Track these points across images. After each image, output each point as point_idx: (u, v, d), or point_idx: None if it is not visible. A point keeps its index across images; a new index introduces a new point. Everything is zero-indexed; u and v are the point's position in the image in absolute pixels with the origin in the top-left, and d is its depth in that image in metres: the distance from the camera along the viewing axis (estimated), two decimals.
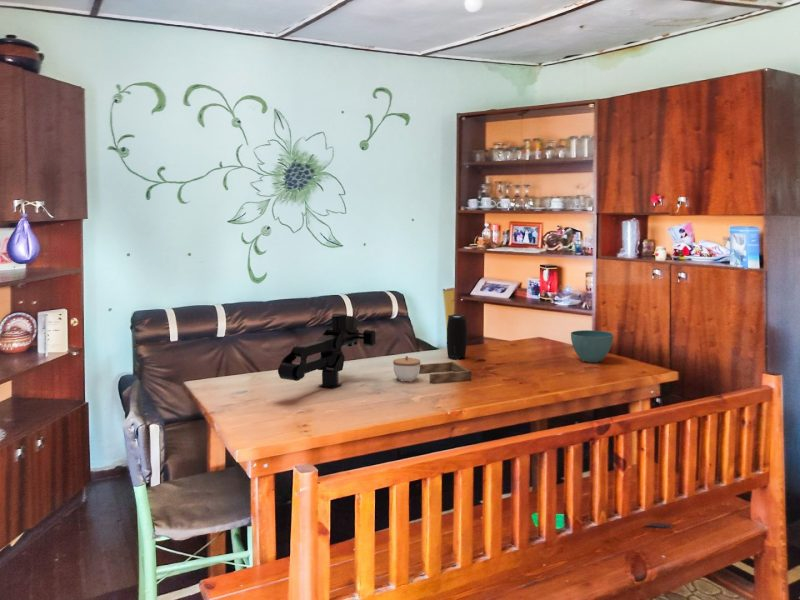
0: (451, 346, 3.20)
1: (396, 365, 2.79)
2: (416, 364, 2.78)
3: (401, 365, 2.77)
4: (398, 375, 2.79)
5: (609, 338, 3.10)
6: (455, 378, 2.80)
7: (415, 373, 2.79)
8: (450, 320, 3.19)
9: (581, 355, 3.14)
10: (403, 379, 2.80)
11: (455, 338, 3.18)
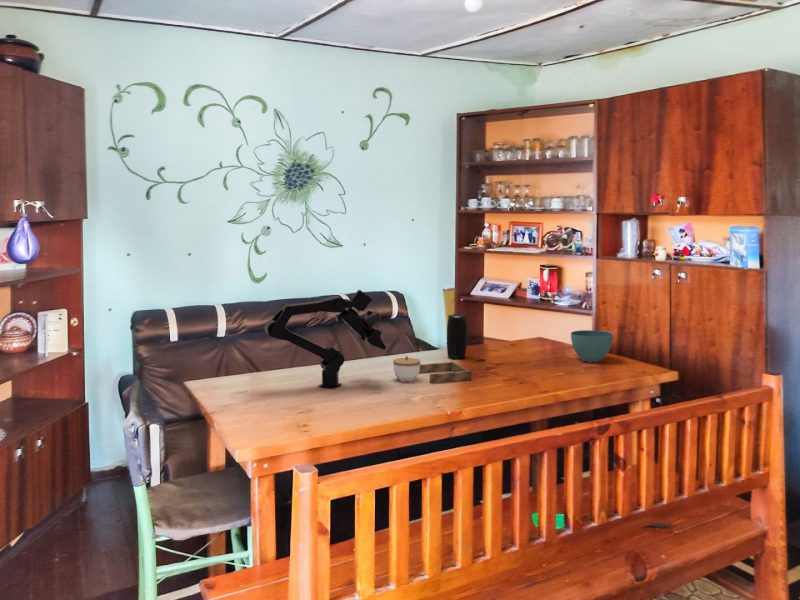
0: (451, 346, 3.20)
1: (396, 365, 2.79)
2: (416, 364, 2.78)
3: (401, 365, 2.77)
4: (398, 375, 2.79)
5: (609, 338, 3.10)
6: (455, 378, 2.80)
7: (415, 373, 2.79)
8: (450, 320, 3.19)
9: (581, 355, 3.14)
10: (403, 379, 2.80)
11: (455, 338, 3.18)
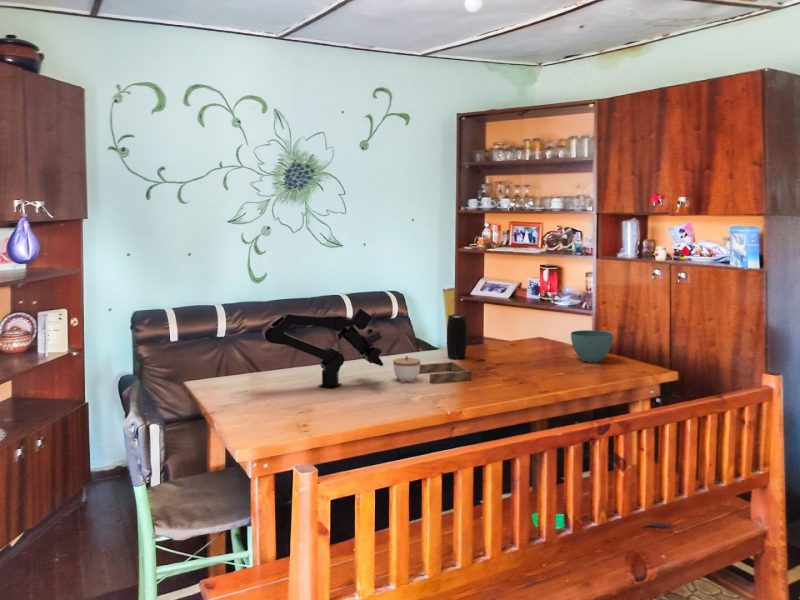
0: (451, 346, 3.20)
1: (396, 365, 2.79)
2: (416, 364, 2.78)
3: (401, 365, 2.77)
4: (398, 375, 2.79)
5: (609, 338, 3.10)
6: (455, 378, 2.80)
7: (415, 373, 2.79)
8: (450, 320, 3.19)
9: (581, 355, 3.14)
10: (403, 379, 2.80)
11: (455, 338, 3.18)
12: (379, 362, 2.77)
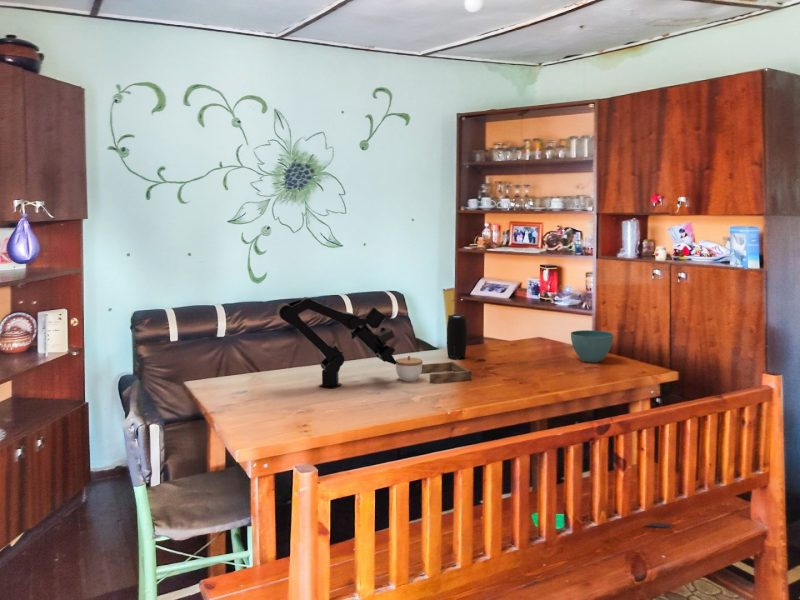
0: (451, 346, 3.20)
1: (398, 365, 2.79)
2: (418, 364, 2.79)
3: (403, 365, 2.78)
4: (400, 375, 2.80)
5: (609, 338, 3.10)
6: (455, 378, 2.80)
7: (417, 373, 2.79)
8: (450, 320, 3.19)
9: (581, 355, 3.14)
10: (405, 379, 2.80)
11: (455, 338, 3.18)
12: (392, 360, 2.79)
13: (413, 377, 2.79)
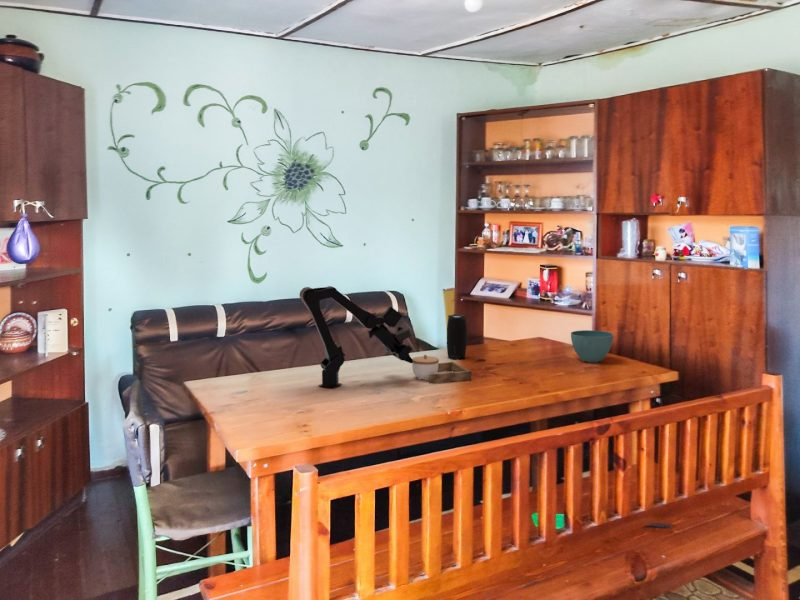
0: (451, 346, 3.20)
1: (415, 363, 2.82)
2: (434, 362, 2.81)
3: (420, 364, 2.80)
4: (417, 373, 2.82)
5: (609, 338, 3.10)
6: (455, 378, 2.80)
7: (433, 371, 2.81)
8: (450, 320, 3.19)
9: (581, 355, 3.14)
10: (421, 377, 2.82)
11: (455, 338, 3.18)
12: (409, 359, 2.81)
13: (429, 376, 2.81)
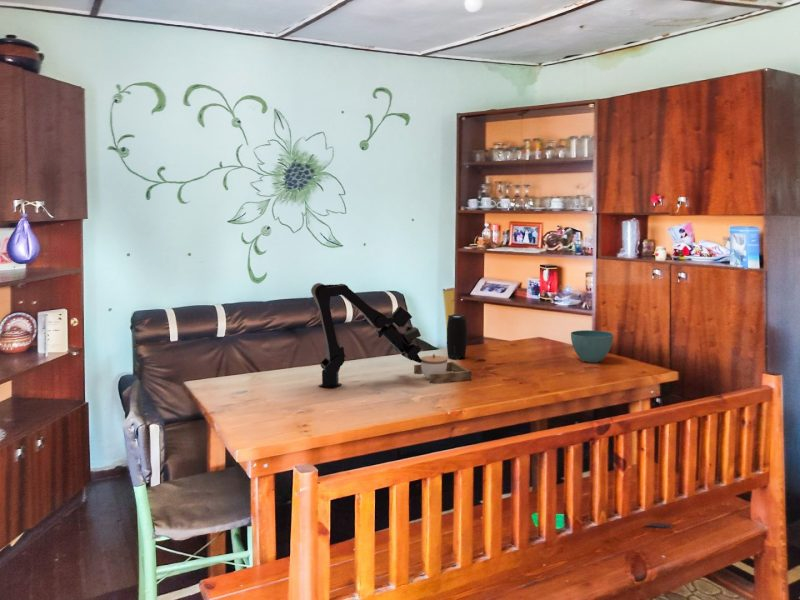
0: (451, 346, 3.20)
1: (423, 363, 2.83)
2: (443, 362, 2.82)
3: (428, 363, 2.81)
4: (425, 373, 2.83)
5: (609, 338, 3.10)
6: (455, 378, 2.80)
7: (442, 371, 2.83)
8: (450, 320, 3.19)
9: (581, 355, 3.14)
10: None
11: (455, 338, 3.18)
12: (418, 359, 2.83)
13: None
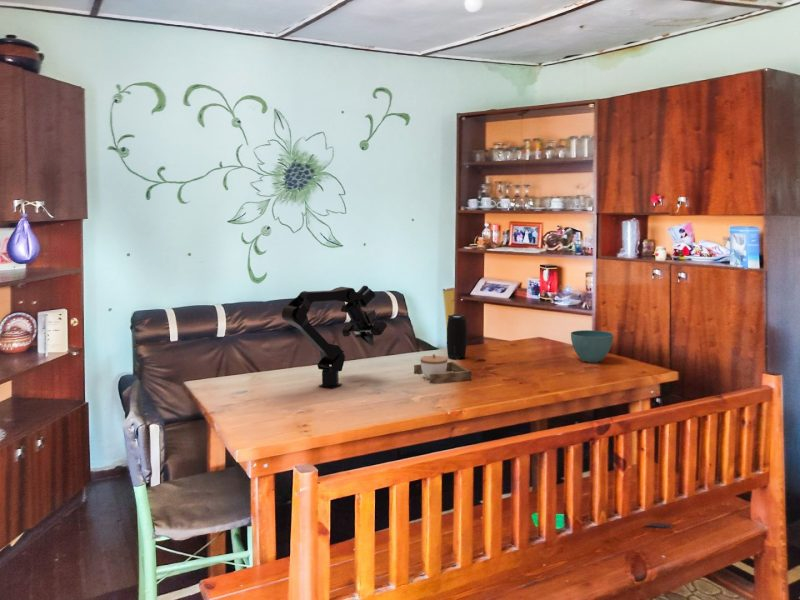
0: (451, 346, 3.20)
1: (423, 363, 2.83)
2: (443, 362, 2.82)
3: (428, 363, 2.81)
4: (425, 373, 2.83)
5: (609, 338, 3.10)
6: (455, 378, 2.80)
7: (442, 371, 2.83)
8: (450, 320, 3.19)
9: (581, 355, 3.14)
10: None
11: (455, 338, 3.18)
12: (372, 341, 2.85)
13: None
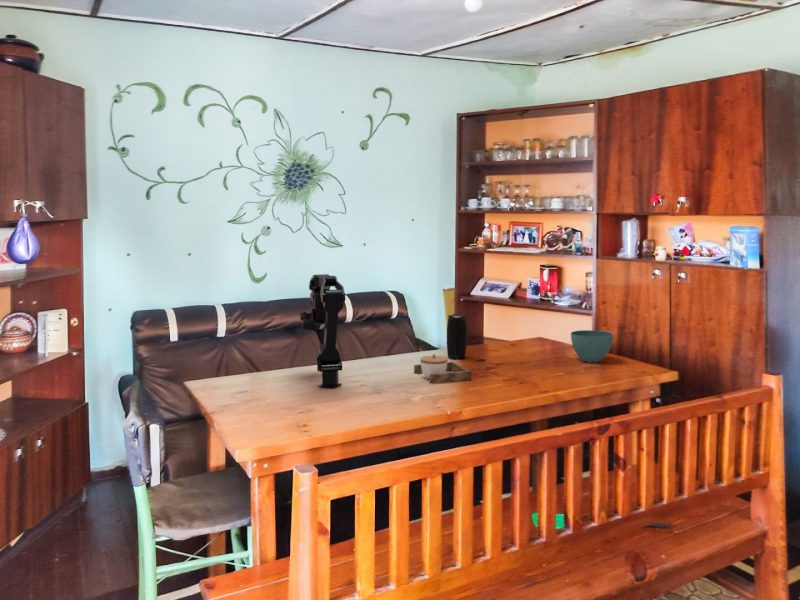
0: (451, 346, 3.20)
1: (423, 363, 2.83)
2: (443, 362, 2.82)
3: (428, 363, 2.81)
4: (425, 373, 2.83)
5: (609, 338, 3.10)
6: (455, 378, 2.80)
7: (442, 371, 2.83)
8: (450, 320, 3.19)
9: (581, 355, 3.14)
10: None
11: (455, 338, 3.18)
12: None
13: None
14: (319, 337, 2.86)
